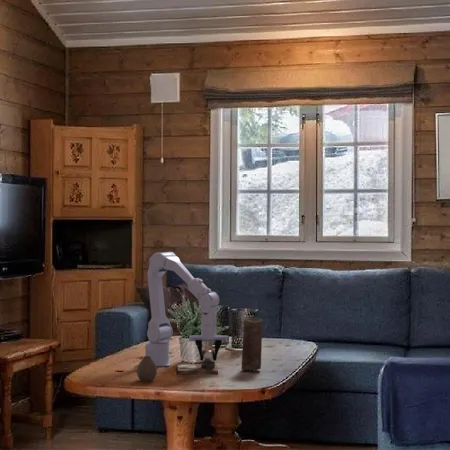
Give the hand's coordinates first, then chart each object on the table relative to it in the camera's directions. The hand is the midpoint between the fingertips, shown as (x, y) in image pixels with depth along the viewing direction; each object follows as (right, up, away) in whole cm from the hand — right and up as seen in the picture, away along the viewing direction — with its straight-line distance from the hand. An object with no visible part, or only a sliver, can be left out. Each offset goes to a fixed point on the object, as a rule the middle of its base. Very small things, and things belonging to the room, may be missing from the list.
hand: (208, 360), depth 342 cm
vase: (-21, -4, -22) cm, 31 cm away
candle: (+16, -5, +1) cm, 17 cm away
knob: (0, -1, 0) cm, 1 cm away
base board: (-4, -4, 0) cm, 6 cm away
